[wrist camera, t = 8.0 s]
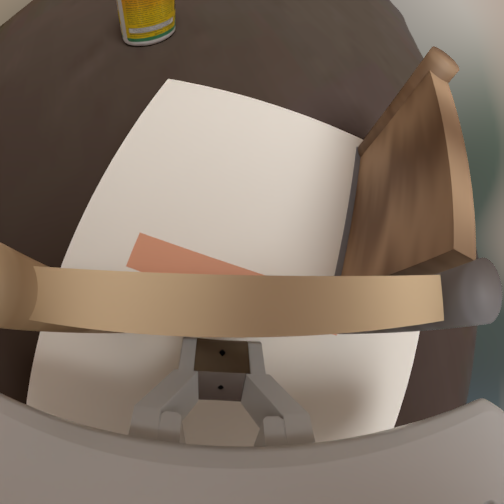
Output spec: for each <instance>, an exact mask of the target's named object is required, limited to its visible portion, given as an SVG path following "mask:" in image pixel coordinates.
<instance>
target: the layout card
mask: <svg viewBox="0 0 504 504" xmlns="http://www.w3.org/2000/svg"><path fill="white" fill-rule="evenodd" d="M362 141H363V139H360V138H358V137H356V136H354V135H352V134H349V133H347V132H345V131H342V130H340V129H338V128H335V127H333V126H330V125H328V124H326V123H323V122H321V121H318V120H315V119H313V118H310V117H307V116H305V115H302V114H299V113H296V112H294V111H291V110H288V109H285V108H282V107H279V106H276V105H273V104H270V103H267V102H263V101H260V100H257V99H253V98H250V97H246V96H243V95H239V94H235V93H232V92H228V91H224V90H220V89H216V88H211V87H207V86H202V85H198V84H193V83H188V82H183V81H178V80H172V79H168V80H167V81H166V82H165V83H164V85H163V86H162V87H161V89H160V90H159V91H158V93H157V94H156V95H155V97H154V98H153V99H152V101H151V102H150V103H149V105H148V106H147V107H146V109H145V110H144V112H143V113H142V114H141V116H140V117H139V119H138V120H137V122H136V123H135V125H134V126H133V128H132V129H131V131H130V132H129V134H128V135H127V137H126V138H125V140H124V142H123V143H122V145H121V146H120V148H119V150H118V151H117V153H116V155H115V156H114V158H113V160H112V161H111V163H110V165H109V166H108V168H107V170H106V172H105V173H104V175H103V177H102V179H101V181H100V183H99V184H98V186H97V188H96V190H95V192H94V194H93V196H92V198H91V200H90V202H89V204H88V206H87V208H86V210H85V212H84V214H83V216H82V218H81V220H80V222H79V225H78V227H77V229H76V231H75V234H74V236H73V238H72V241H71V243H70V245H69V248H68V250H67V253H66V255H65V258H64V260H63V263H62V265H61V268H71V269H88V270H107V271H128V272H152V273H180V274H214V275H262V276H341V274H342V269H343V264H344V259H345V254H346V249H347V244H348V238H349V233H350V227H351V221H352V215H353V209H354V203H355V196H356V189H357V182H358V174H359V166H360V158H361V157H360V156H359V154H358V146H359V145H360V144H361V142H362ZM419 332H420V331H413V332H396V333H374V334H326V335H310V336H289V337H247V338H228V337H192V338H203V339H214V340H232V341H260V342H261V343H262V350H263V357H264V365H265V372H266V374H269V375H271V376H272V377H273V378H274V379H275V380H276V382H277V383H278V384H279V385H280V386H281V387H282V388H283V389H284V390H285V391H286V392H287V393H288V394H289V395H290V396H291V397H292V398H293V399H294V400H295V401H296V402H297V403H298V404H300V405H301V406H302V407H303V408H304V409H305V410H306V411H307V412H308V413H309V416H310V420H311V425H312V429H313V434H314V438H315V442H323V441H330V440H337V439H344V438H350V437H355V436H360V435H365V434H370V433H375V432H379V431H384V430H388V429H392V428H394V425H395V423H396V420H397V417H398V414H399V411H400V408H401V404H402V401H403V398H404V395H405V391H406V388H407V384H408V380H409V377H410V373H411V369H412V365H413V361H414V356H415V352H416V347H417V342H418V337H419ZM184 337H185V336H165V335H149V334H135V333H66V332H44V331H40V335H39V339H38V343H37V347H36V351H35V356H34V361H33V366H32V371H31V376H30V382H29V388H28V395H27V402H26V405H28V406H31V407H33V408H36V409H39V410H41V411H44V412H47V413H49V414H52V415H55V416H58V417H61V418H64V419H67V420H70V421H74V422H77V423H80V424H84V425H87V426H91V427H95V428H99V429H103V430H107V431H111V432H116V433H120V434H125V435H128V434H129V429H130V424H131V419H132V415H133V410H134V406H135V404H137V403H138V402H139V401H140V400H141V399H142V398H143V397H144V396H145V395H147V394H148V393H149V392H150V391H151V390H152V389H153V388H154V387H155V386H156V385H158V384H159V383H160V382H161V381H162V380H163V379H164V378H165V377H166V376H167V375H168V374H170V373H171V372H172V371H173V370H174V369H178V367H179V360H180V353H181V347H182V341H183V338H184ZM198 400H199V401H198V402H197V403H196V404H195V406H194V407H193V408H192V410H191V411H190V412H189V413H188V415H187V416H186V417H185V418H184V419H183V421H182V424H183V430H184V437H185V443H186V444H197V445H212V446H254V443H255V441H256V438H257V435H258V432H259V430H260V428H259V427H258V425H257V424H256V423H255V421H254V420H253V419H252V417H251V416H250V415H249V413H248V412H247V410H246V409H245V408H244V406H243V405H242V403H241V402H239V401H222V400H200V399H198Z"/></svg>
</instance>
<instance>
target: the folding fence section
mask: <svg viewBox="0 0 504 504" xmlns="http://www.w3.org/2000/svg"><path fill="white" fill-rule="evenodd" d="M439 321H444V311H443V297H442V287H441V277H440V275H406V276H262V275H214V274H180V273H152V272H128V271H107V270H88V269H71V268H54V267H48V266H46V265H44V264H42V263H40V262H38V261H36V260H33V259H31V258H29V257H27V256H25V255H23V254H22V253H20V252H18V251H16V250H14V249H12V248H10V247H8V246H6V245H4V244H2V243H1V242H0V328H4V329H15V330H28V331H44V332H66V333H135V334H149V335H165V336H185V337H228V338H247V337H289V336H310V335H326V334H340V333H352V332H363V331H372V330H382V329H390V328H398V327H406V326H413V325H420V324H426V323H433V322H439Z"/></svg>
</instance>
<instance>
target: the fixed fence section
mask: <svg viewBox="0 0 504 504" xmlns="http://www.w3.org/2000/svg"><path fill="white" fill-rule="evenodd" d="M458 71H459V67H458V65H457V64H456V63H455V61H454V60H453V59H452V58H451V57H450V56H448V55H447V54H446V53H445V52H443V51H442V50H440V49H438V48H436V47H432V48H431V49H430V50H429V52H428V53H427V55H426V56H425V57H424V59H423V60H422V62H421V63H420V64H419V66H418V67H417V68H416V70H415V71H414V73H413V74H412V75H411V77H410V78H409V79H408V81H407V82H406V84H405V85H404V86H403V88H402V89H401V90H400V92H399V93H398V94H397V96H396V97H395V98H394V100H393V101H392V102H391V104H390V105H389V107H388V108H387V109H386V111H385V112H384V113H383V115H382V116H381V117H380V119H379V120H378V121H377V123H376V124H375V125H374V127H373V128H372V129H371V131H370V132H369V133H368V134H367V136H366V137H365V138H364V140H363V141H362V142H361V144H360V145H359V146H358V154H359V156H360V157H361V158H360V166H359V174H358V182H357V189H356V196H355V203H354V209H353V215H352V221H351V227H350V233H349V238H348V244H347V249H346V254H345V259H344V264H343V269H342V274H341V276H406V275H440V277H441V287H442V297H443V311H444V321H439V322H433V323H426V324H420V325H413V326H406V327H398V328H390V329H382V330H372V331H363V332H352V333H340V334H374V333H396V332H413V331H427V330H438V329H449V328H458V327H467V326H475V325H483V324H489V323H492V322H493V321H494V320H495V319H496V318H497V316H498V314H499V311H500V308H501V304H502V286H501V281H500V277H499V274H498V272H497V270H496V268H495V266H494V265H493V263H492V262H491V261H490V260H488V259H486V258H479V259H476V234H475V216H474V204H473V194H472V186H471V179H470V172H469V165H468V159H467V154H466V149H465V144H464V139H463V135H462V131H461V126H460V122H459V118H458V114H457V111H456V107H455V104H454V100H453V97H452V94H451V91H450V88H449V85H448V83H449V82H450V80H451V79H452V78H453V77H454V76H455V74H456V73H457V72H458Z"/></svg>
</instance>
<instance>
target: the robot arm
mask: <svg viewBox="0 0 504 504" xmlns="http://www.w3.org/2000/svg"><path fill="white" fill-rule="evenodd" d="M198 399H200V400H222V401H239V402H241V403H242V405H243V406H244V408H245V409H246V410H247V412H248V413H249V415H250V416H251V417H252V419H253V420H254V421H255V423H256V424H257V425H258V427H259V428H260V430H259V432H258V435H257V438H256V441H255V443H254V446H212V445H197V444H186V443H185V437H184V430H183V424H182V421H183V419H184V418H185V417H186V416H187V415H188V413H189V412H190V411H191V410H192V408H193V407H194V406H195V404H196V403H197V402H198V401H199V400H198ZM0 504H504V411H502V410H501V409H500V408H499V407H497V406H496V405H494V404H493V403H491V402H490V401H487V400H486V399H477V400H475V401H472V402H470V403H468V404H465V405H463V406H460V407H458V408H455V409H453V410H450V411H447V412H444V413H442V414H439V415H436V416H433V417H430V418H427V419H424V420H421V421H417V422H414V423H410V424H407V425H403V426H400V427H396V428H392V429H388V430H384V431H379V432H375V433H370V434H365V435H360V436H355V437H350V438H344V439H337V440H330V441H323V442H315V438H314V434H313V429H312V425H311V420H310V416H309V413H308V412H307V411H306V410H305V409H304V408H303V407H302V406H301V405H300V404H298V403H297V402H296V401H295V400H294V399H293V398H292V397H291V396H290V395H289V394H288V393H287V392H286V391H285V390H284V389H283V388H282V387H281V386H280V385H279V384H278V383H277V382H276V380H275V379H274V378H273V377H272V376H271V375H269V374H266V372H265V365H264V357H263V350H262V343H261V342H260V341H232V340H214V339H203V338H192V337H184V338H183V341H182V347H181V353H180V360H179V367H178V369H174V370H173V371H172V372H171V373H170V374H168V375H167V376H166V377H165V378H164V379H163V380H162V381H161V382H160V383H159V384H158V385H156V386H155V387H154V388H153V389H152V390H151V391H150V392H149V393H148V394H147V395H145V396H144V397H143V398H142V399H141V400H140V401H139V402H138V403H137V404H135V406H134V410H133V415H132V419H131V424H130V429H129V434H128V435H125V434H120V433H116V432H111V431H107V430H103V429H99V428H95V427H91V426H87V425H84V424H80V423H77V422H74V421H70V420H67V419H64V418H61V417H58V416H55V415H52V414H49V413H47V412H44V411H41V410H39V409H36V408H33V407H31V406H28V405H26V404H24V403H21V402H19V401H17V400H14V399H12V398H10V397H8V396H6V395H4V394H2V393H0Z"/></svg>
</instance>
